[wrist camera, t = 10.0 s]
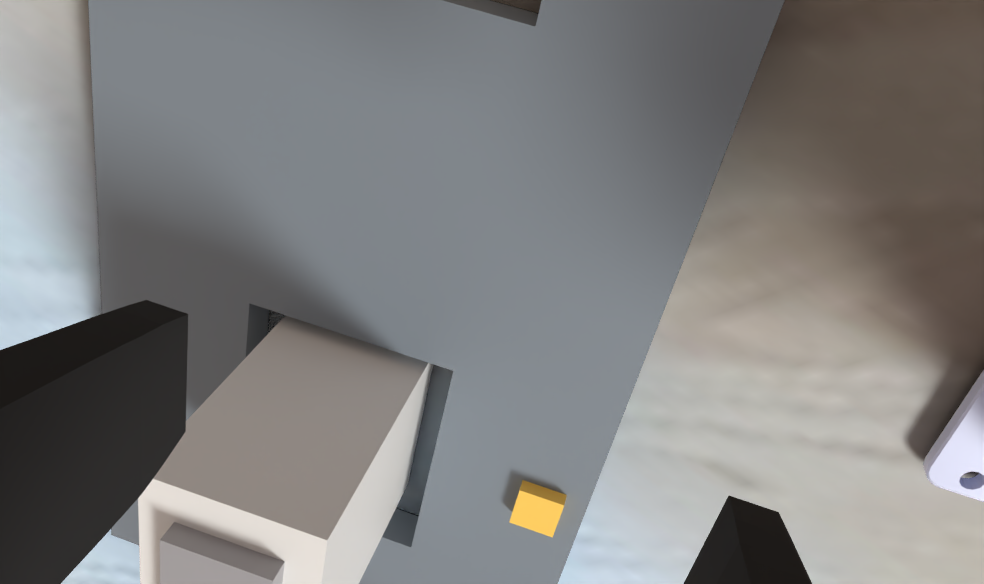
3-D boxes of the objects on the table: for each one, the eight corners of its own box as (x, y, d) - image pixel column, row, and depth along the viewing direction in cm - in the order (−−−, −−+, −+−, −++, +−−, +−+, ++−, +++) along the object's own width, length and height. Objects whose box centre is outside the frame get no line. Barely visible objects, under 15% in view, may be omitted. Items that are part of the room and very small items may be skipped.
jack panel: (1052, -715, 11) (1099, -798, 9) (525, 653, 26) (514, 696, 25) (103, -879, 12) (25, -972, 11) (134, 509, 27) (103, 543, 26)
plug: (436, 348, 21) (316, 560, 15) (407, 483, 24) (294, 713, 17) (296, 303, 22) (121, 490, 15) (283, 440, 24) (127, 650, 18)
